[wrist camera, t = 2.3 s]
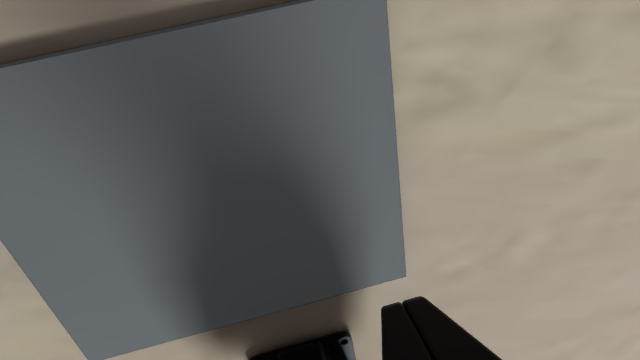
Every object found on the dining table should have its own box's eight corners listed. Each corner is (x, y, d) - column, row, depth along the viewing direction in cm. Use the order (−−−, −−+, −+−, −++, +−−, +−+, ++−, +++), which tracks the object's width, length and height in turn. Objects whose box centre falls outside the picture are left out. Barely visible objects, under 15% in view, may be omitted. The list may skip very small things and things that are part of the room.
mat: (402, 269, 27) (406, 276, 27) (92, 353, 26) (90, 363, 25) (380, -18, 18) (385, -16, 18) (-99, 85, 17) (-108, 91, 16)
